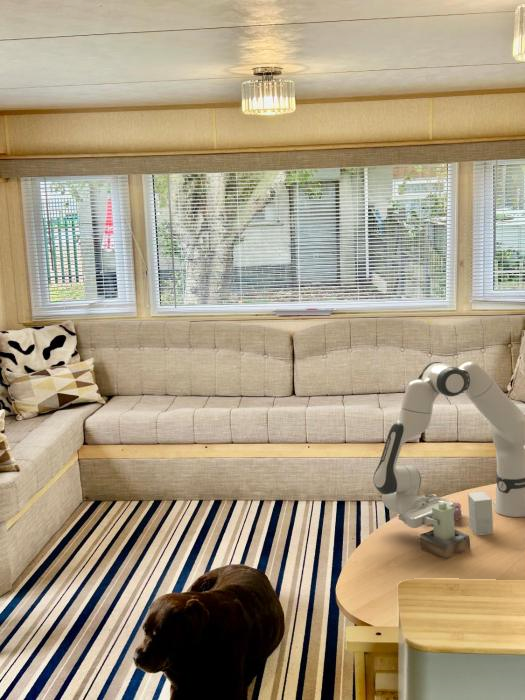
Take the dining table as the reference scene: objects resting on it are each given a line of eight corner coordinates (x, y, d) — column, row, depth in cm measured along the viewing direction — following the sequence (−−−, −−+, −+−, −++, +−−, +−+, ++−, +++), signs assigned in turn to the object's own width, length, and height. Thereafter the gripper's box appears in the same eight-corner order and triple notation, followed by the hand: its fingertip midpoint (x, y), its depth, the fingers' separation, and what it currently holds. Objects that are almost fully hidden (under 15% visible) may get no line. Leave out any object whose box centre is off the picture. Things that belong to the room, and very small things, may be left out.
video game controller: (456, 527, 284) (464, 512, 282) (445, 522, 284) (453, 507, 283) (455, 517, 294) (462, 501, 292) (443, 512, 294) (451, 496, 292)
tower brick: (444, 533, 267) (442, 499, 265) (454, 537, 263) (453, 503, 261) (433, 537, 265) (431, 503, 263) (444, 542, 261) (442, 507, 258)
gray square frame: (445, 538, 273) (444, 524, 272) (470, 549, 263) (469, 535, 262) (420, 548, 267) (419, 534, 266) (444, 560, 257) (444, 545, 256)
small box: (493, 533, 273) (492, 499, 270) (476, 535, 273) (474, 501, 270) (486, 524, 281) (484, 491, 278) (469, 526, 280) (467, 493, 278)
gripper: (394, 508, 268) (422, 520, 256) (437, 492, 278) (465, 503, 267) (395, 525, 269) (423, 537, 258) (438, 508, 279) (466, 520, 268)
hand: (445, 520), depth 262 cm, fingers open, 5 cm apart
